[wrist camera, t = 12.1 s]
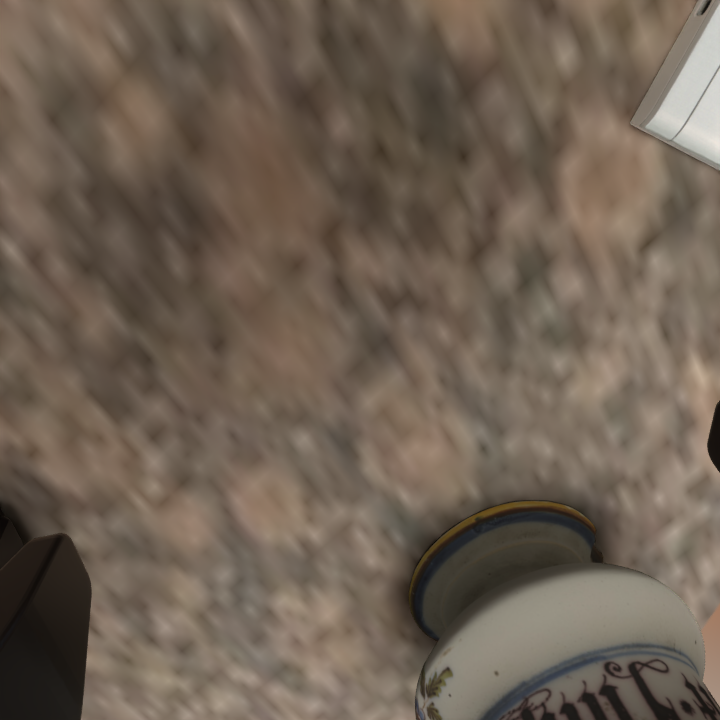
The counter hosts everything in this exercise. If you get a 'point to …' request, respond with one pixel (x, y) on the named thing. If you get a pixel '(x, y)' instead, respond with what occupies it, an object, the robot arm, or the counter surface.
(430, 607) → the apothecary jar
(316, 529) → the counter surface
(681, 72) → the hard drive
